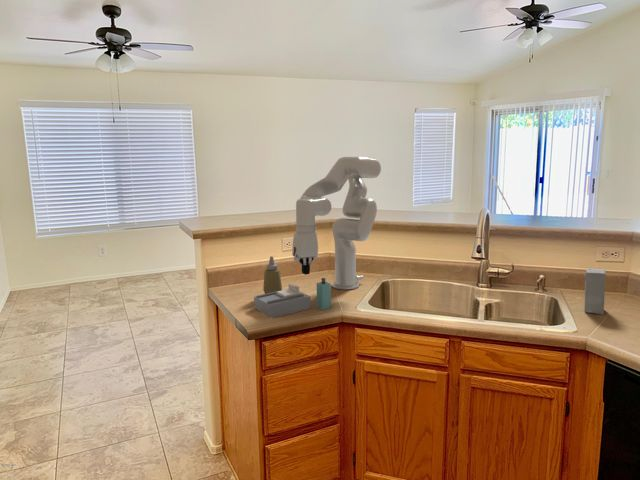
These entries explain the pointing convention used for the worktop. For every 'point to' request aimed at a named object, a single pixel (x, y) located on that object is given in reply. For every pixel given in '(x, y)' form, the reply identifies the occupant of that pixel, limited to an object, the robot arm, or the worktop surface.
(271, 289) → the squeeze bottle
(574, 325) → the worktop surface
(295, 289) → the shutter
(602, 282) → the skincare box
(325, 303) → the teal rectangular bottle
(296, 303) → the grey flat box
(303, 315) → the worktop surface
